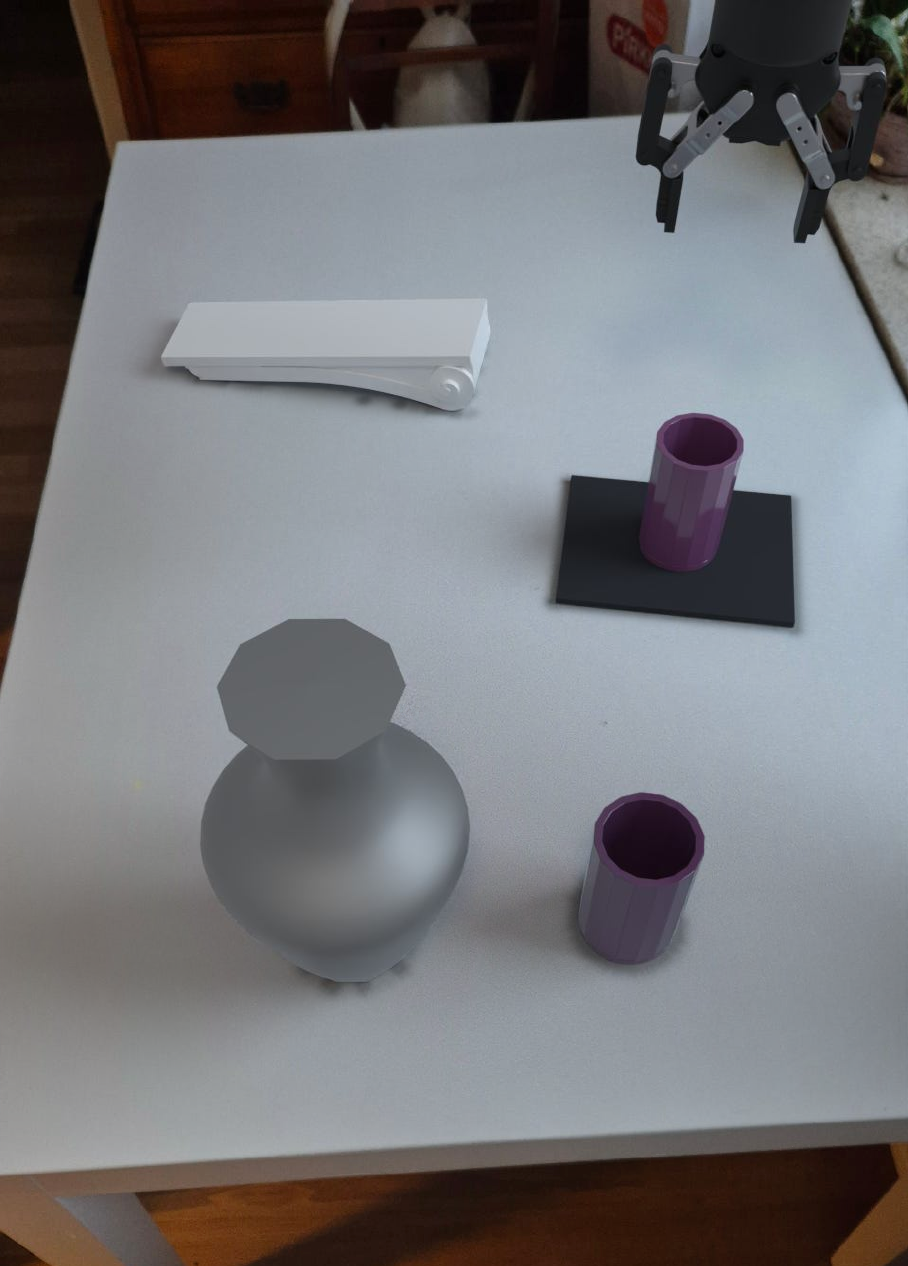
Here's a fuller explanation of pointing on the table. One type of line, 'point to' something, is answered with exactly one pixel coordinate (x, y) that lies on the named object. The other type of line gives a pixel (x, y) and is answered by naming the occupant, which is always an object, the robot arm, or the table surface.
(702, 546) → the plum cup
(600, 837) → the plum cup
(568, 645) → the table surface
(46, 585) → the table surface
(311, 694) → the vase
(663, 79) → the robot arm
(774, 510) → the mat
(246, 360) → the wall bracket
